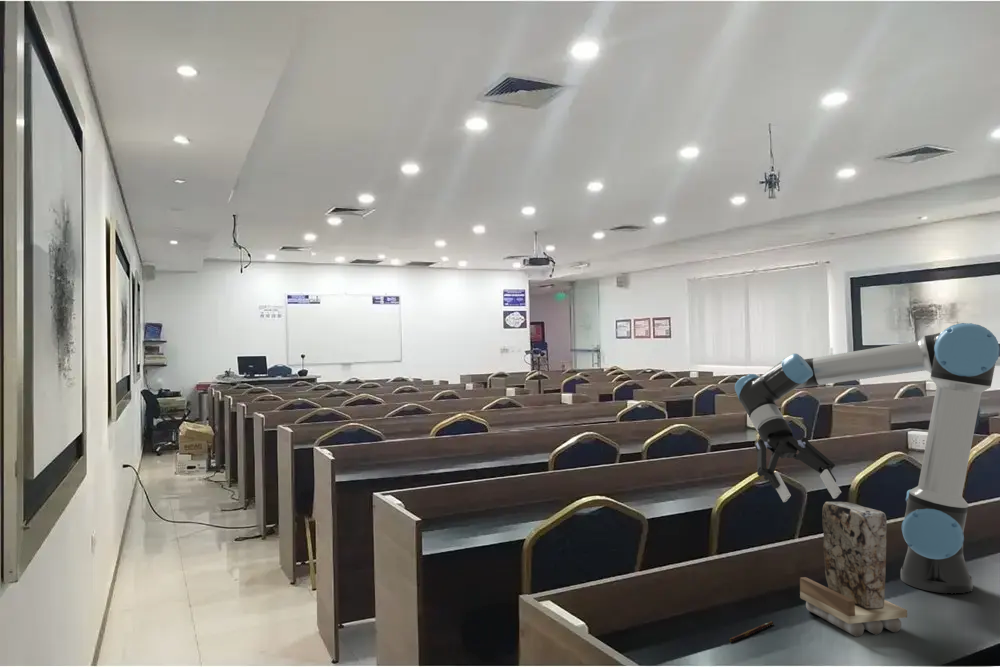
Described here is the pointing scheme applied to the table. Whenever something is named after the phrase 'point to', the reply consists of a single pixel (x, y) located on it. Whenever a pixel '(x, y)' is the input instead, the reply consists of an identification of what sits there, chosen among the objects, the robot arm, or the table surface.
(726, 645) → the table surface
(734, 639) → the dark brown thin bar
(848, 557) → the stone block
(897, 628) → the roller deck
